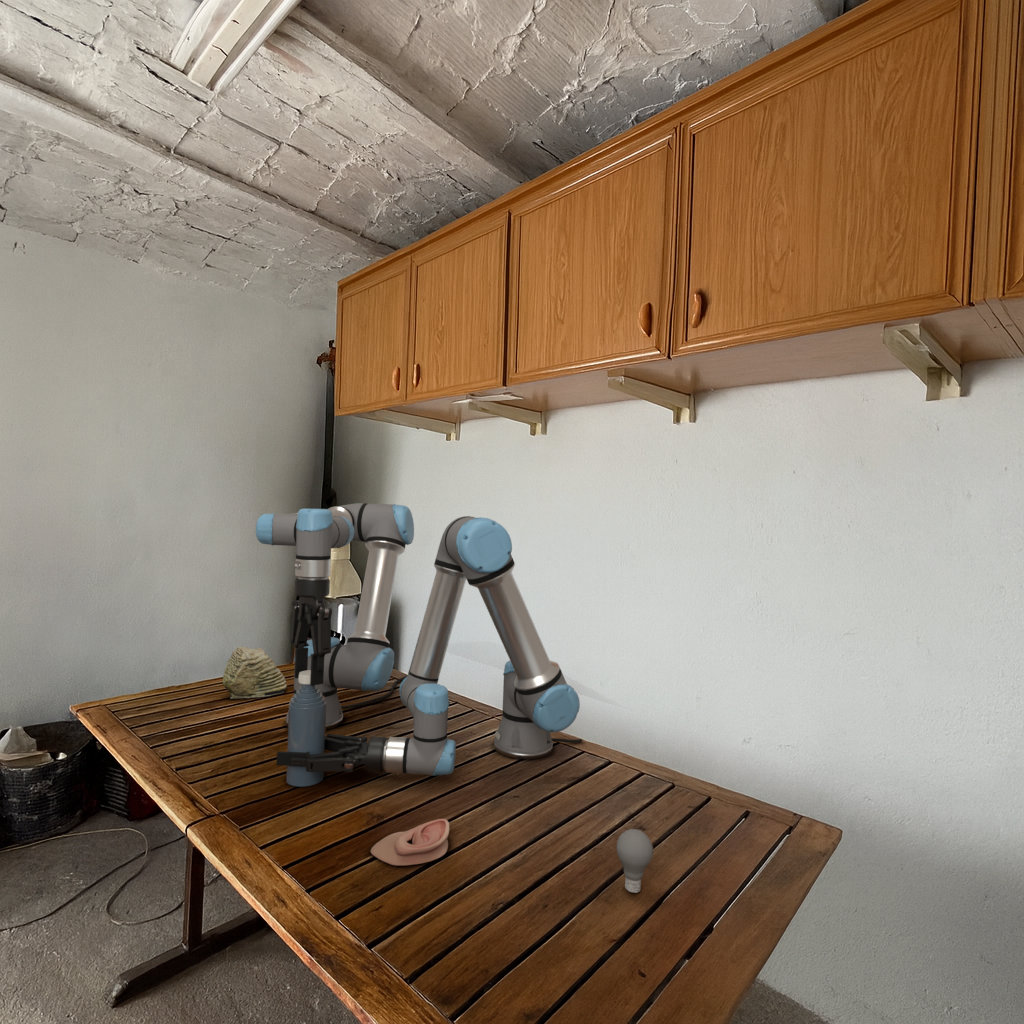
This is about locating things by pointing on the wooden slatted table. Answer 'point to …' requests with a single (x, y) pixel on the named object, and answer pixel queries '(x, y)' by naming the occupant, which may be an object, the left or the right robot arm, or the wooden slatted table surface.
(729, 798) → the wooden slatted table surface
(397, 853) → the anatomical model
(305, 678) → the cap
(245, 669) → the fossil
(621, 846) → the light bulb
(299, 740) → the bottle
